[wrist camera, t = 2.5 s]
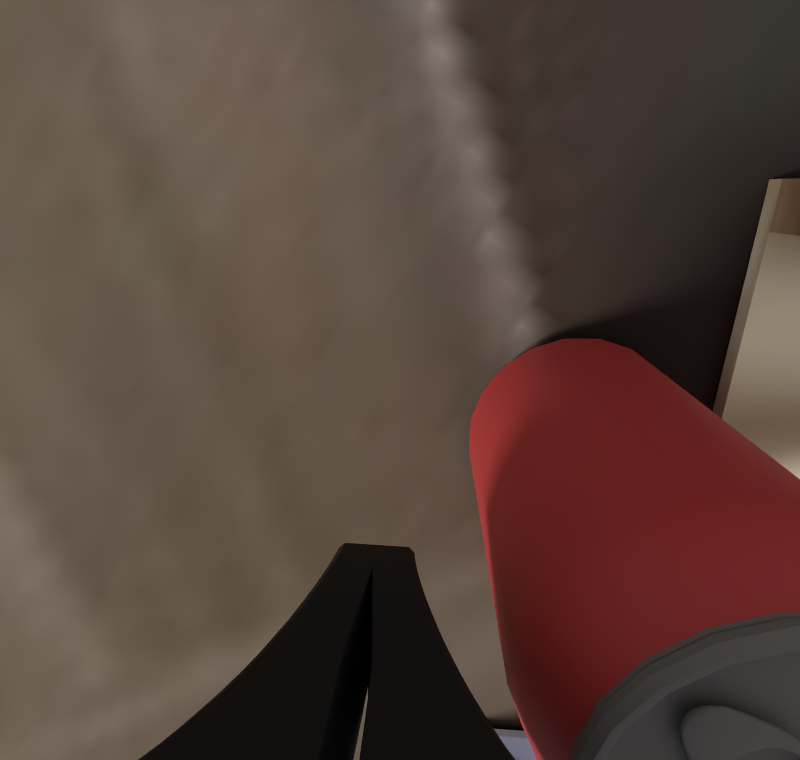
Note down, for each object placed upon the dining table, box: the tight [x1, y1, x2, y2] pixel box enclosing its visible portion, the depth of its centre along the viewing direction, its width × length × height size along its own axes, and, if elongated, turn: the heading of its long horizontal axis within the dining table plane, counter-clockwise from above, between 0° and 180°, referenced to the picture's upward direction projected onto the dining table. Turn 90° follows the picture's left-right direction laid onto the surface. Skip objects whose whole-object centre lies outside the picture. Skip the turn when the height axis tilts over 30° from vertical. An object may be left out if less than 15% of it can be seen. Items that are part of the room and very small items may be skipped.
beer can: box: [469, 338, 800, 760], centre depth 13 cm, size 7×7×12 cm
